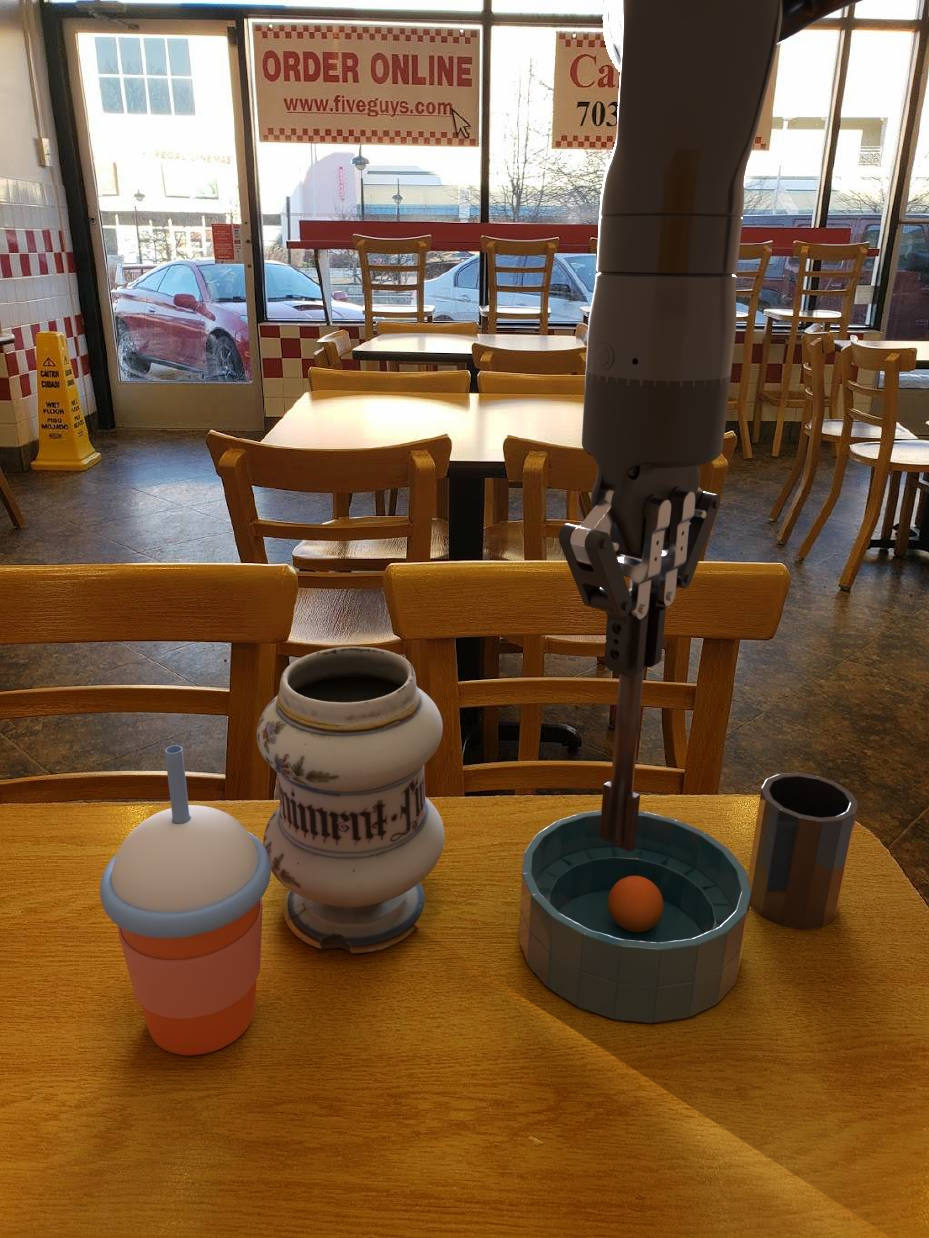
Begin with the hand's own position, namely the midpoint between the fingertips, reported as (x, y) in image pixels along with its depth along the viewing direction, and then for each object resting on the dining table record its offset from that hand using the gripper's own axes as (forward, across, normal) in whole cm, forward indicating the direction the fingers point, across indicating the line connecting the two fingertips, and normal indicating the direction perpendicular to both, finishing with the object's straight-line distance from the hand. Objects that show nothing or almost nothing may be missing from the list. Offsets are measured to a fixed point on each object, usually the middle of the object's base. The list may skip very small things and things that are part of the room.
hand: (632, 666), depth 56 cm
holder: (+20, +11, -7) cm, 24 cm away
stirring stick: (+12, 0, 0) cm, 12 cm away
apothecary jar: (+20, -10, +15) cm, 26 cm away
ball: (+17, +1, -1) cm, 17 cm away
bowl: (+20, 0, -1) cm, 20 cm away
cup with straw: (+20, -23, +14) cm, 33 cm away
